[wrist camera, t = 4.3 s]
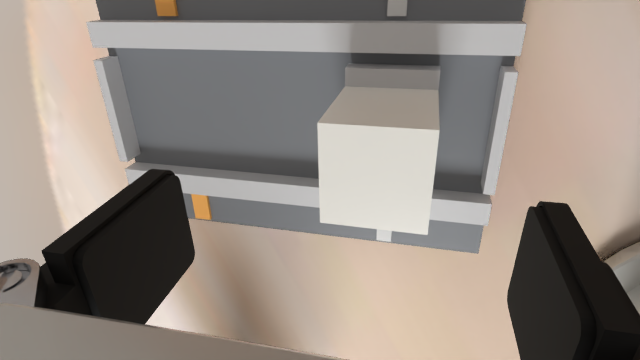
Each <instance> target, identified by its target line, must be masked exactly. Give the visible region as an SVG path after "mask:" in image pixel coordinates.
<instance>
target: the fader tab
mask: <svg viewBox="0 0 640 360" xmlns="http://www.w3.org/2000/svg"><path fill="white" fill-rule="evenodd" d="M439 79H440V66H430V65H392V64H354V63H349V64H348V65H347V66H346V68H345V87H344V88H343V90H342V91H341V92H340V94H339V95H338V96H337V98H336V99H335V100H334V101H333V103H332V104H331V105H330V107H329V108H328V109H327V111H326V112H325V113H324V115H323V116H322V117H321V119H320V120H319V121H318V123H317V130H318V168H319V205H320V223H327V224H336V225H345V226H353V227H362V228H371V229H379V230H388V231H396V232H405V233H414V234H422V235H428V227H429V218H430V210H431V201H432V192H433V184H434V175H435V166H436V158H437V149H438V140H439V132H440V126H439V94H438V89H439Z"/></svg>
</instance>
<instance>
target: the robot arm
mask: <svg viewBox="0 0 640 360" xmlns="http://www.w3.org/2000/svg"><path fill="white" fill-rule="evenodd" d="M42 254H43V256H44V258H45V261H46V263H45V264H44V265H42V266H41V267H40V266H39V264H38V263H37V262H36V261H34V260H31V259H14V260H9V261H5V262H2V263H0V360H348V359H343V358H337V357H331V356H326V355H320V354H315V353H309V352H303V351H297V350H292V349H286V348H280V347H274V346H269V345H263V344H257V343H251V342H246V341H240V340H234V339H228V338H222V337H216V336H211V335H205V334H199V333H193V332H187V331H181V330H175V329H169V328H163V327H157V326H151V325H145V323H146V322H147V321H148V319H149V318H150V317H151V316H152V314H153V313H154V312H155V310H156V309H157V308H158V306H159V305H160V304H161V303H162V301H163V300H164V299H165V297H166V296H167V295H168V294H169V292H170V291H171V290H172V288H173V287H174V286H175V285H176V283H177V282H178V281H179V279H180V278H181V277H182V275H183V274H184V273H185V272H186V270H187V269H188V268H189V266H190V265H191V264H192V262H193V260H194V256H195V250H194V245H193V240H192V235H191V231H190V226H189V221H188V216H187V211H186V206H185V202H184V197H183V192H182V187H181V182H180V179H179V177H178V176H175V174H174V172H173V171H171V170H162V169H150V170H148V171H147V172H146V173H144V174H143V175H142V176H140V177H139V178H138V179H136V180H135V181H134V182H132V183H131V184H130V185H128V186H127V187H126V188H124V189H123V190H122V191H120V192H119V193H118V194H116V195H115V196H114V197H112V198H111V199H110V200H108V201H107V202H106V203H104V204H103V205H102V206H100V207H99V208H98V209H96V210H95V211H94V212H92V213H91V214H90V215H88V216H87V217H86V218H84V219H83V220H82V221H80V222H79V223H78V224H76V225H75V226H74V227H73V228H71V229H70V230H69V231H67V232H66V233H65V234H63V235H62V236H61V237H59V238H58V239H57V240H55V241H54V242H53V243H52V244H50V245H49V246H47V247H46V248H45V249H43V250H42ZM507 302H508V308H509V313H510V317H511V321H512V325H513V329H514V333H515V338H516V342H517V346H518V350H519V354H520V359H521V360H640V242H638V243H636V244H633V245H631V246H629V247H627V248H625V249H622V250H620V251H619V252H617V253H616V254H614V255H613V256H611V257H610V258H608V259H607V260H605V261H603V262H601V260H600V258H599V257H598V255H597V253H596V252H595V250H594V248H593V247H592V245H591V243H590V241H589V240H588V238H587V236H586V235H585V233H584V231H583V229H582V228H581V226H580V224H579V223H578V221H577V219H576V218H575V216H574V214H573V212H572V211H571V209H570V207H569V206H568V205H567V204H565V203H554V202H542V201H540V202H539V203H538V205H537V207H532V206H530V207H529V209H528V212H527V216H526V220H525V224H524V228H523V232H522V236H521V240H520V244H519V248H518V252H517V256H516V260H515V265H514V269H513V273H512V277H511V281H510V285H509V289H508V296H507Z"/></svg>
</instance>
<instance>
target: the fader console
mask: <svg viewBox="0 0 640 360" xmlns="http://www.w3.org/2000/svg"><path fill="white" fill-rule="evenodd" d="M525 2H526V0H96V3H97V7H98V11H99V16H100V20H97V21H90V22H86V23H87V27H88V30H89V34H90V38H91V42H92V46H93V47H98V48H108V52H109V56H107V57H104V58H100V59H96V60H93V61H94V65H95V68H96V72H97V76H98V80H99V83H100V87H101V91H102V95H103V98H104V102H105V106H106V110H107V114H108V117H109V121H110V125H111V129H112V132H113V136H114V140H115V144H116V147H117V151H118V155H119V159H120V161H126V162H128V161H130V160H131V159H133V158H134V157H135V161H136V162H135V163H133V164H132V165H130V166H129V167H127V168H126V169H125V171H126V175H127V179H128V183H129V185H130V184H131V183H132V182H134V181H135V180H136V179H138V178H139V177H140V176H142V175H143V174H144V173H146V172H147V171H148V170H150V169H162V170H171V171H173V172H174V174H175V176H178V177H179V179H180V182H181V187H182V192H183V197H184V202H185V206H186V211H187V216H188V218H191V219H200V220H208V221H216V222H224V223H232V224H240V225H249V226H257V227H265V228H273V229H281V230H289V231H298V232H306V233H314V234H322V235H330V236H338V237H347V238H355V239H363V240H371V241H379V242H387V243H396V244H404V245H412V246H420V247H428V248H436V249H445V250H453V251H461V252H469V253H477V254H478V253H479V247H480V242H481V237H482V231H483V226H484V225H485V226H488V222H489V217H490V212H491V206H492V203H491V199H490V195H495V190H496V185H497V180H498V175H499V170H500V165H501V160H502V154H503V149H504V144H505V139H506V134H507V129H508V123H509V118H510V113H511V108H512V103H513V98H514V92H515V87H516V82H517V77H518V71H517V70H516V69H515V68H514V60H515V56H521V51H522V45H523V40H524V35H525V30H526V25H527V24H526V23H524V22H523V21H522V18H523V12H524V7H525ZM349 63H354V64H392V65H430V66H440V79H439V89H438V94H439V126H440V132H439V140H438V149H437V158H436V166H435V175H434V184H433V192H432V201H431V210H430V218H429V227H428V235H422V234H414V233H405V232H396V231H388V230H379V229H371V228H362V227H353V226H345V225H336V224H327V223H320V205H319V168H318V130H317V123H318V121H319V120H320V119H321V117H322V116H323V115H324V113H325V112H326V111H327V109H328V108H329V107H330V105H331V104H332V103H333V101H334V100H335V99H336V98H337V96H338V95H339V94H340V92H341V91H342V90H343V88H344V87H345V68H346V66H347V65H348V64H349Z"/></svg>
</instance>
